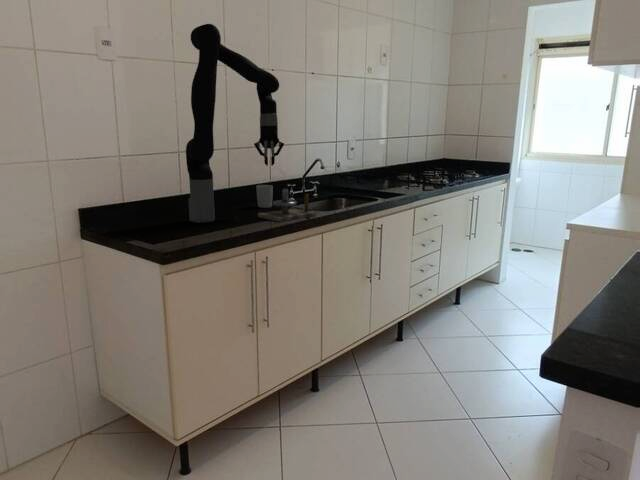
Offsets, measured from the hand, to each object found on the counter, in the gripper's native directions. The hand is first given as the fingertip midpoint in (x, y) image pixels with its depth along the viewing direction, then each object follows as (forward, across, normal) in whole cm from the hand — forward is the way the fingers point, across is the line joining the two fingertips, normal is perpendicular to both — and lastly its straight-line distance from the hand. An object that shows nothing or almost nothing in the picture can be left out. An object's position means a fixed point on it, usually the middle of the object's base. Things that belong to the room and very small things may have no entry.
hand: (269, 165), depth 216 cm
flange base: (+21, +8, -9) cm, 24 cm away
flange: (+16, +7, -6) cm, 18 cm away
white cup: (+21, -4, +17) cm, 28 cm away
